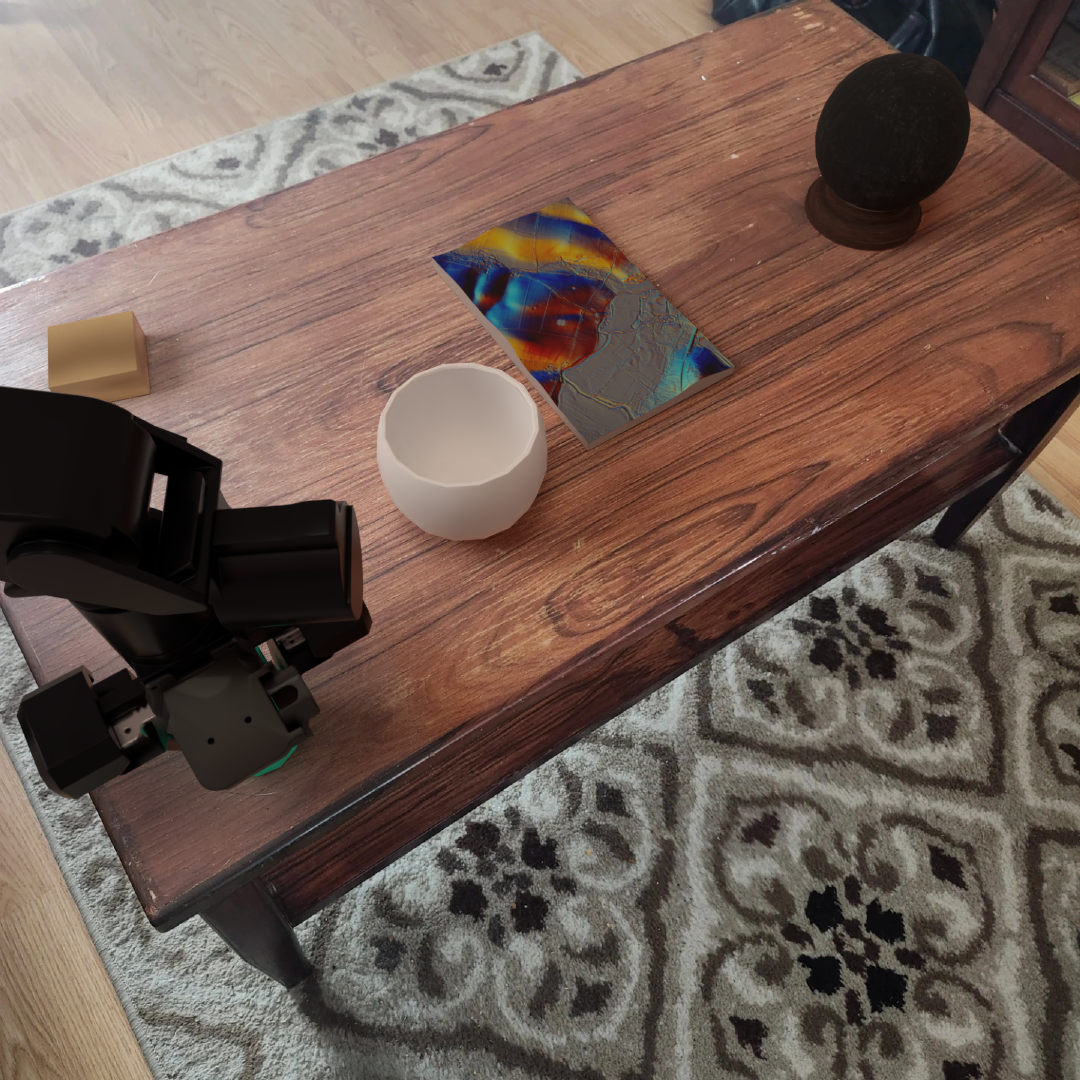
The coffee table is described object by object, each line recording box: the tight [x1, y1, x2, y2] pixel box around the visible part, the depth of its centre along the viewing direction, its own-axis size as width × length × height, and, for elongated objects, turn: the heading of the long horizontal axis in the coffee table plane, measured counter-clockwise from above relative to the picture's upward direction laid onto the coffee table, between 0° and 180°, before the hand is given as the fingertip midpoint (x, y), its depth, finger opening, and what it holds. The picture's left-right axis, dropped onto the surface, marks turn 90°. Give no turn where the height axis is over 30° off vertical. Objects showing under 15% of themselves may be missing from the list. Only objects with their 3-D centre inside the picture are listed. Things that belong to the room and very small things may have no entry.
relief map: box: [431, 196, 736, 451], centre depth 81 cm, size 25×15×2 cm, turn 33°
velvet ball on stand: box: [804, 52, 972, 252], centre depth 83 cm, size 13×13×15 cm
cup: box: [376, 362, 548, 542], centre depth 67 cm, size 12×12×10 cm
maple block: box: [47, 310, 151, 403], centre depth 77 cm, size 7×7×3 cm
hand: (242, 715), depth 58 cm, fingers closed on candle, 6 cm apart
